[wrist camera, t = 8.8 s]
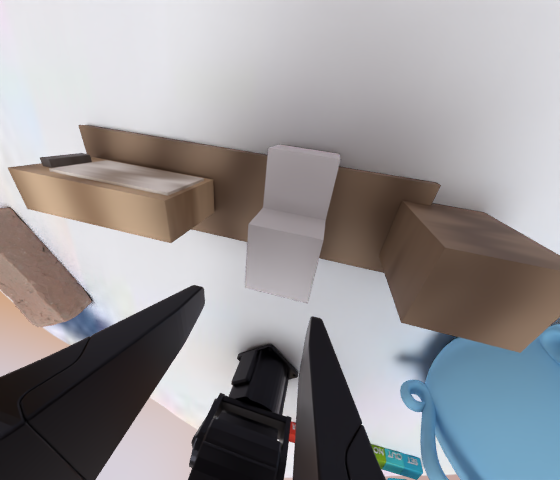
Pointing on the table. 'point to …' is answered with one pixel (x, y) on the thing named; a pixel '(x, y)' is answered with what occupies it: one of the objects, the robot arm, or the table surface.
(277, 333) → the table surface
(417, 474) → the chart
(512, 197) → the table surface
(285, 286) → the white chair-shaped block
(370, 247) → the wooden shelf
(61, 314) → the brick
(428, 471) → the decorative pot
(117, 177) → the wall mounted shelf tray
